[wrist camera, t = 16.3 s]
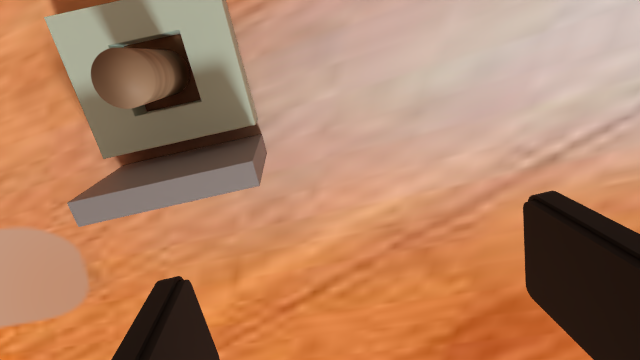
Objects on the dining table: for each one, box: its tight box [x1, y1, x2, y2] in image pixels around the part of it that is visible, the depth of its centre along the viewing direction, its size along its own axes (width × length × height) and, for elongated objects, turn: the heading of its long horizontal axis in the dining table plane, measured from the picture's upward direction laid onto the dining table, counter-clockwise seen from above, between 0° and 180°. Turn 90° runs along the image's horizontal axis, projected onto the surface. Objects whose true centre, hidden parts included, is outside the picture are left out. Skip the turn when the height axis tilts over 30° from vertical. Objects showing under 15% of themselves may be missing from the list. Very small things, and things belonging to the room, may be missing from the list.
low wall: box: [67, 134, 267, 227], centre depth 33 cm, size 14×2×10 cm, turn 102°
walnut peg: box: [91, 48, 190, 109], centre depth 30 cm, size 4×4×10 cm
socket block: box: [44, 0, 258, 159], centre depth 33 cm, size 14×12×3 cm
